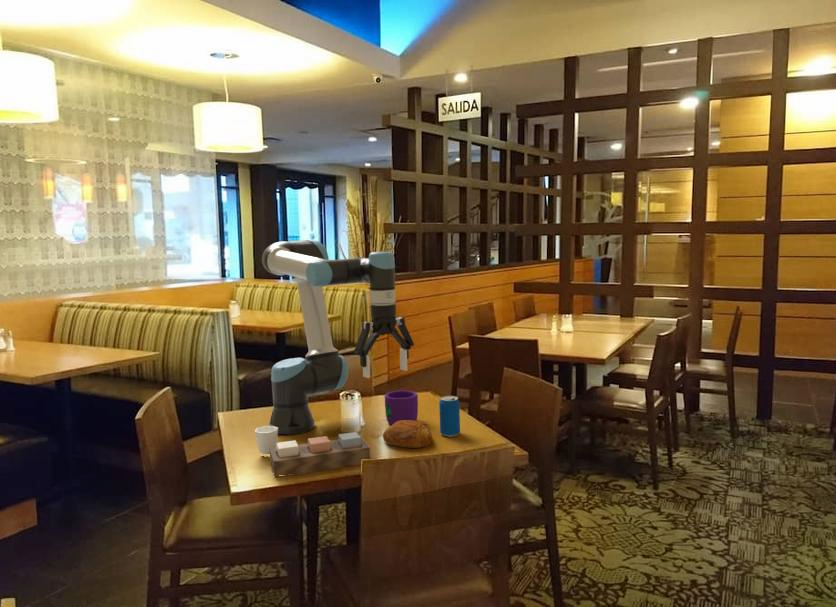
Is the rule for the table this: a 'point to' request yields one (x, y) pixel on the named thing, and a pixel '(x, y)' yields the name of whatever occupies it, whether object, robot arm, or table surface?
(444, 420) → the beverage can
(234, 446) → the table surface
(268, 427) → the cup
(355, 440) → the slate key
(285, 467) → the key block
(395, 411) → the mug
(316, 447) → the terracotta key
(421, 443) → the pastry
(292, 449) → the ivory key
